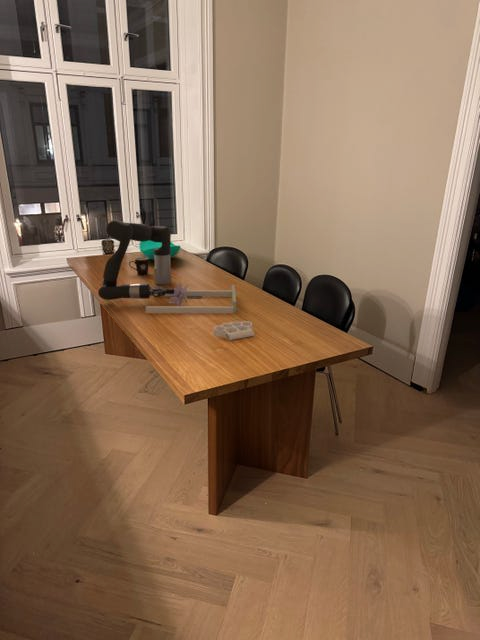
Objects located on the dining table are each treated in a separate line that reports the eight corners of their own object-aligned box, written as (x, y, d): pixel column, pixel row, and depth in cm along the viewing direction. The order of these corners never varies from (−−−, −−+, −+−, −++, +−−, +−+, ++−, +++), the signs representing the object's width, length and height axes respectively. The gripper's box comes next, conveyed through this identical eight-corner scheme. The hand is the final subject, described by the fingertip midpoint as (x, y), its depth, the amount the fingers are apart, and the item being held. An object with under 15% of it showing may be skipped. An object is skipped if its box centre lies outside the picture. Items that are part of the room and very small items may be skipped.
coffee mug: (151, 272, 280) (150, 257, 276) (147, 276, 272) (146, 260, 268) (133, 271, 281) (132, 256, 277) (129, 275, 273) (128, 259, 269)
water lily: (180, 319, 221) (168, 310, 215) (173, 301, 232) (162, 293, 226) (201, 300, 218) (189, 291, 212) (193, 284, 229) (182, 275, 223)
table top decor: (133, 256, 323) (132, 238, 318) (169, 252, 335) (168, 235, 331) (150, 268, 291) (149, 248, 286) (188, 264, 303) (188, 245, 298)
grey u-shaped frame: (146, 313, 209) (145, 301, 207) (154, 295, 235) (153, 284, 233) (236, 313, 211) (236, 301, 209) (234, 295, 237) (234, 285, 235)
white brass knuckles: (222, 343, 178) (209, 331, 190) (261, 336, 186) (245, 325, 198) (222, 336, 177) (209, 324, 189) (261, 329, 184) (245, 318, 197)
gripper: (136, 287, 212) (172, 287, 212) (141, 280, 224) (175, 280, 225) (137, 302, 214) (173, 302, 215) (142, 294, 227) (175, 294, 227)
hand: (174, 291), depth 220 cm, fingers closed
